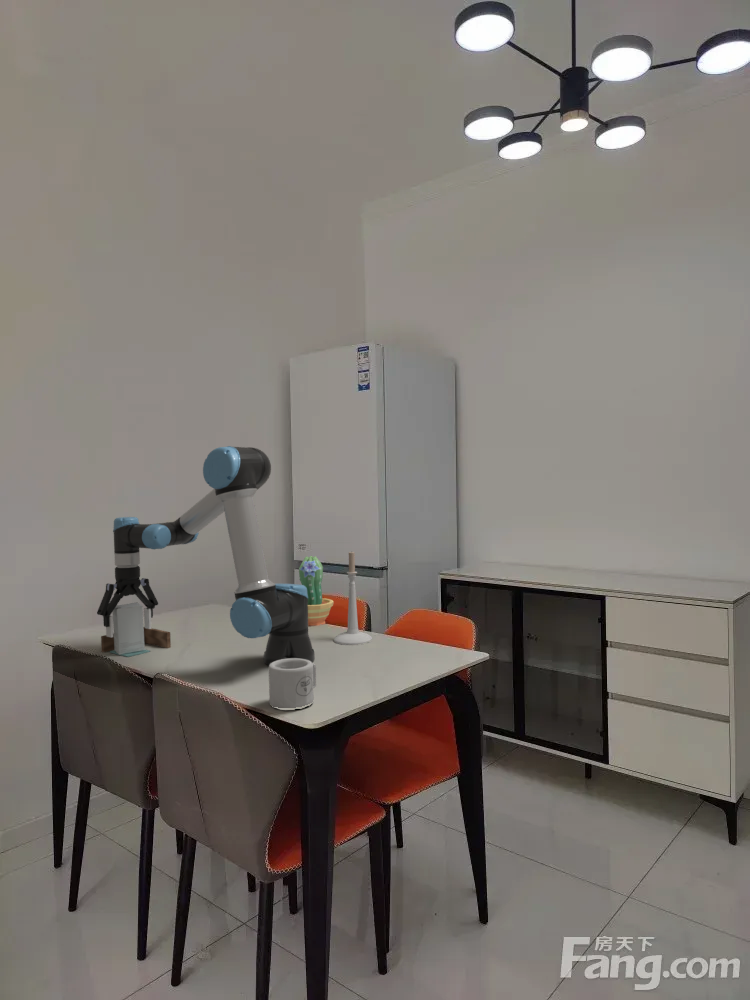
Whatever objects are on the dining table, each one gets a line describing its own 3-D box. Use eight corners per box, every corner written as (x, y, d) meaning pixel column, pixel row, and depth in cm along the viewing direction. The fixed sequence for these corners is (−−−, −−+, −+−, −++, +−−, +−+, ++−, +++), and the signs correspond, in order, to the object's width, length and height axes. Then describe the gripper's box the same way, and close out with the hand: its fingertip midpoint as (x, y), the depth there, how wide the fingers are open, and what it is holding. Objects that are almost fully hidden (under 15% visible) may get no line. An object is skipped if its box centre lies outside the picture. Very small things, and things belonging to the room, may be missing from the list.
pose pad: (150, 651, 220) (150, 650, 220) (127, 657, 214) (127, 656, 214) (132, 647, 226) (132, 646, 226) (109, 652, 220) (109, 651, 220)
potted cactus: (284, 624, 257) (282, 557, 255) (310, 616, 269) (309, 552, 268) (316, 629, 248) (315, 559, 247) (342, 621, 260) (341, 555, 259)
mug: (289, 714, 161) (288, 672, 161) (260, 705, 168) (259, 664, 168) (331, 700, 171) (330, 660, 171) (301, 691, 179) (300, 652, 178)
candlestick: (329, 637, 235) (328, 549, 234) (365, 634, 239) (364, 547, 238) (339, 646, 223) (337, 553, 222) (377, 643, 227) (375, 551, 226)
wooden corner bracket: (170, 647, 225) (170, 632, 225) (126, 658, 213) (126, 642, 212) (145, 641, 234) (144, 626, 234) (101, 651, 221) (101, 636, 221)
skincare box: (139, 647, 225) (138, 601, 224) (145, 651, 220) (144, 604, 219) (113, 651, 220) (111, 604, 219) (117, 655, 215) (116, 607, 214)
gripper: (154, 560, 231) (156, 623, 232) (83, 569, 211) (86, 638, 212) (168, 562, 227) (169, 626, 227) (97, 571, 207) (99, 642, 208)
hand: (129, 632), depth 220 cm, fingers open, 13 cm apart
